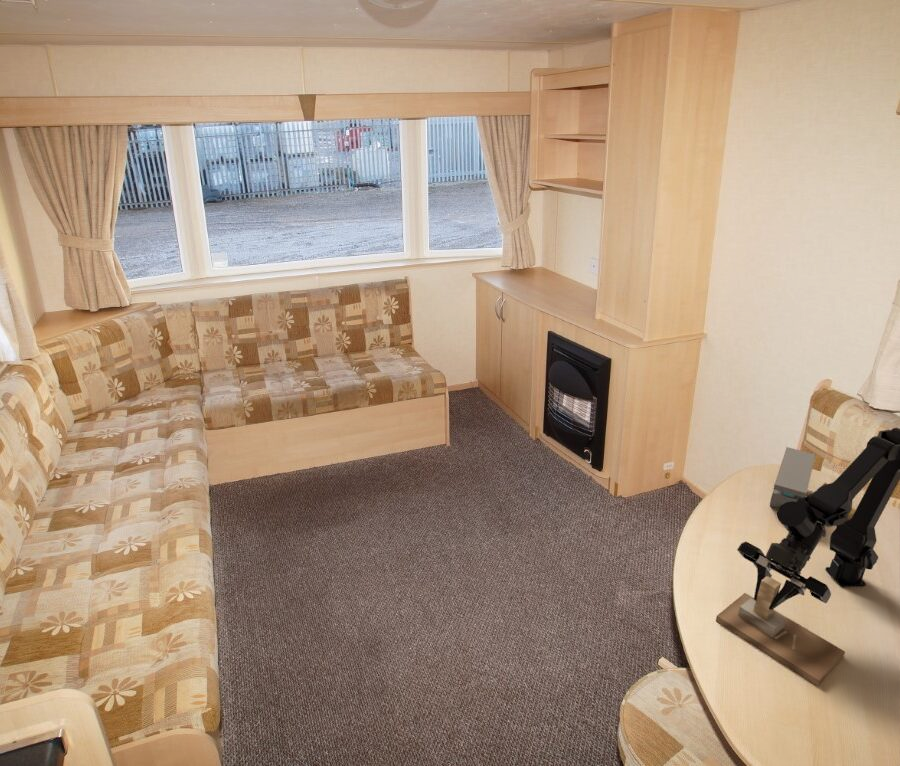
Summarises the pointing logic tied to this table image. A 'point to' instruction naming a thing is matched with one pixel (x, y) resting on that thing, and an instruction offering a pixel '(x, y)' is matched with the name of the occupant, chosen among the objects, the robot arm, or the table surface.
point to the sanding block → (763, 608)
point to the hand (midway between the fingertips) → (762, 604)
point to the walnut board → (786, 643)
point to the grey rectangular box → (792, 477)
